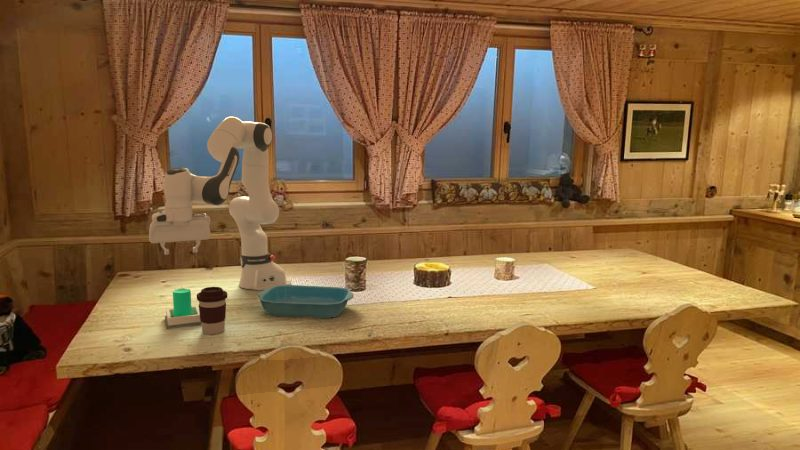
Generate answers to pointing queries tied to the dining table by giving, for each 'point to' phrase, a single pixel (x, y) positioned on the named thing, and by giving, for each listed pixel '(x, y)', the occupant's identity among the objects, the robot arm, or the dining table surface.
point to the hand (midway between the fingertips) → (181, 253)
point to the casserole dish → (305, 301)
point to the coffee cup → (212, 309)
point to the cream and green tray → (182, 318)
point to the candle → (182, 302)
